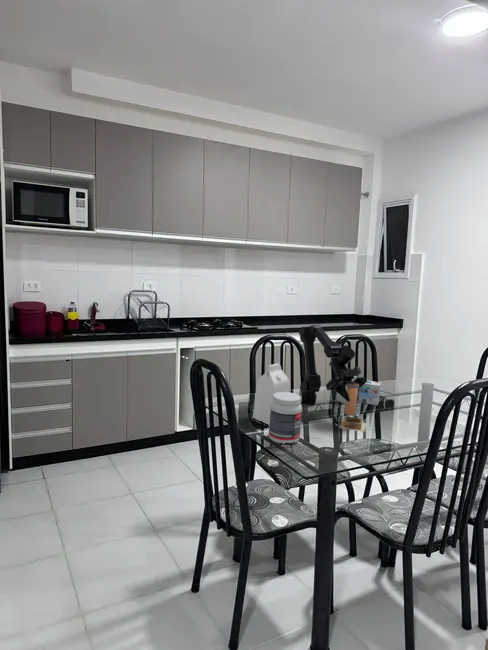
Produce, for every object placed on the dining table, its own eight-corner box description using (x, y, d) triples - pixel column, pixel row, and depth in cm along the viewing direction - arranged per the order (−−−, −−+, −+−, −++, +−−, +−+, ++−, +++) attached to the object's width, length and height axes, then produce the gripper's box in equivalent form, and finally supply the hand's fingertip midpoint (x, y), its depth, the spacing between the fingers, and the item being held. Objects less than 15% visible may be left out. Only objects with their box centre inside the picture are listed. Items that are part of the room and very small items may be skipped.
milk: (270, 413, 216) (274, 360, 212) (289, 421, 208) (293, 365, 204) (252, 419, 208) (255, 363, 203) (271, 427, 200) (275, 369, 195)
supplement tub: (302, 446, 182) (306, 401, 179) (270, 445, 181) (273, 400, 178) (296, 433, 195) (299, 391, 192) (266, 432, 194) (269, 390, 191)
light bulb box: (356, 402, 240) (358, 382, 239) (358, 398, 247) (360, 379, 245) (377, 405, 236) (379, 385, 235) (379, 401, 243) (381, 382, 241)
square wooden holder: (338, 431, 200) (339, 422, 199) (341, 422, 210) (342, 414, 209) (364, 435, 196) (365, 426, 196) (365, 426, 207) (366, 417, 206)
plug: (343, 414, 200) (346, 384, 198) (345, 410, 205) (348, 381, 203) (355, 416, 199) (358, 386, 197) (356, 412, 204) (359, 383, 201)
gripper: (332, 361, 198) (344, 394, 190) (366, 359, 205) (380, 390, 197) (320, 374, 206) (332, 405, 198) (354, 371, 214) (366, 402, 206)
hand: (353, 400), depth 200 cm, fingers closed on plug, 4 cm apart
